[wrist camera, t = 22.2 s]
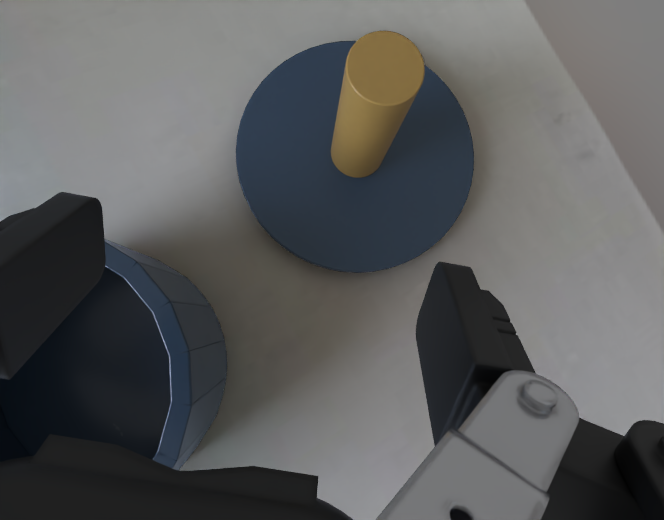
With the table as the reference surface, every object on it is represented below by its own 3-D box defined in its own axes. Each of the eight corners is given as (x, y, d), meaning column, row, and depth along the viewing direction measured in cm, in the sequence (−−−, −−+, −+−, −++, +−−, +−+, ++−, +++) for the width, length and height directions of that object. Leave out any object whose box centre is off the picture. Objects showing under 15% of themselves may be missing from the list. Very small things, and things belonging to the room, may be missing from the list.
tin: (-45, 305, 25) (-219, 300, 17) (179, 219, 26) (122, 174, 18) (32, 532, 24) (-113, 648, 15) (261, 430, 25) (241, 487, 17)
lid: (204, 96, 27) (146, -34, 17) (412, 22, 29) (472, -138, 19) (291, 310, 26) (284, 306, 16) (503, 222, 27) (621, 166, 17)
